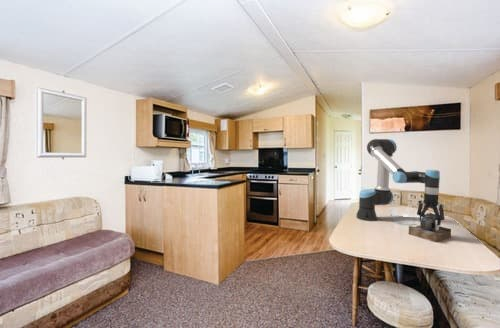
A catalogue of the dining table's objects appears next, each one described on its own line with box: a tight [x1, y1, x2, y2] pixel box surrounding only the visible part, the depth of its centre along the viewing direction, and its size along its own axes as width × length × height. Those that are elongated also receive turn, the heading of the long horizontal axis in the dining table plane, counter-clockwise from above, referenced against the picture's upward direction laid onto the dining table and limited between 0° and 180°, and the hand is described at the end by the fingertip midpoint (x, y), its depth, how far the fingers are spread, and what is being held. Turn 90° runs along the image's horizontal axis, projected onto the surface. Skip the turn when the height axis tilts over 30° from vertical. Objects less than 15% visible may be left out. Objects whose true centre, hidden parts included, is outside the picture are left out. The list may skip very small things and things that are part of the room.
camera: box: [419, 212, 437, 231], centre depth 162 cm, size 13×10×10 cm
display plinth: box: [408, 225, 452, 243], centre depth 162 cm, size 16×18×6 cm
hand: (429, 227), depth 162 cm, fingers closed on camera, 8 cm apart
